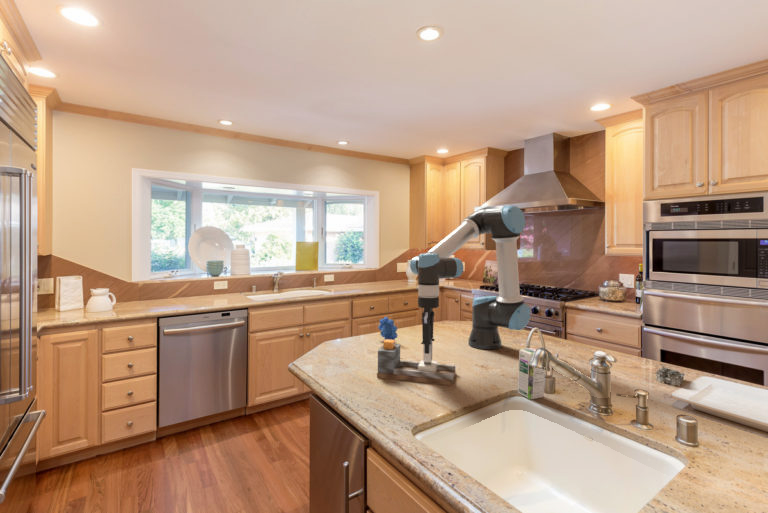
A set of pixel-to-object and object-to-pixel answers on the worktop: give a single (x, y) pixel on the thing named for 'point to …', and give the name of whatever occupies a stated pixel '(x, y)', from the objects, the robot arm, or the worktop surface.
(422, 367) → the carriage
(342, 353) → the worktop surface
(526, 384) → the syrup box
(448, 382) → the rail base
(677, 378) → the grey ruffled clump
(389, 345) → the button
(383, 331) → the grapes
